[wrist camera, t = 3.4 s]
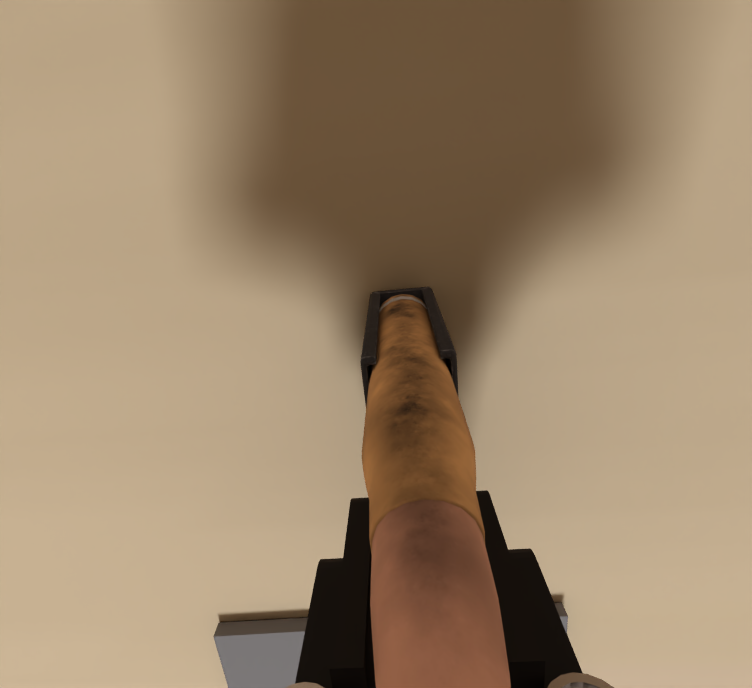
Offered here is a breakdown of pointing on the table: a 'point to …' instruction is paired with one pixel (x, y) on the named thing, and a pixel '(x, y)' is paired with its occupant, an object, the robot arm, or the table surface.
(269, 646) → the mat
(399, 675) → the ammunition clip
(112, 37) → the table surface
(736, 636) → the table surface
